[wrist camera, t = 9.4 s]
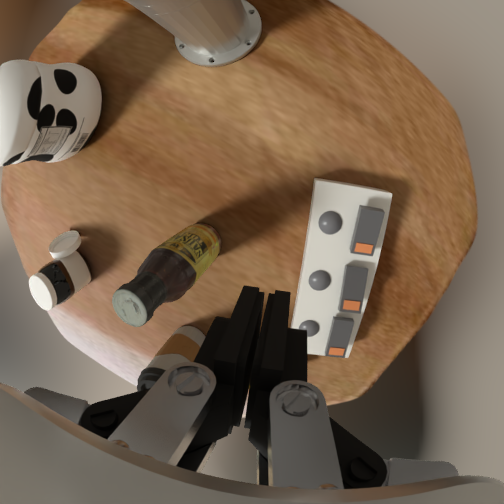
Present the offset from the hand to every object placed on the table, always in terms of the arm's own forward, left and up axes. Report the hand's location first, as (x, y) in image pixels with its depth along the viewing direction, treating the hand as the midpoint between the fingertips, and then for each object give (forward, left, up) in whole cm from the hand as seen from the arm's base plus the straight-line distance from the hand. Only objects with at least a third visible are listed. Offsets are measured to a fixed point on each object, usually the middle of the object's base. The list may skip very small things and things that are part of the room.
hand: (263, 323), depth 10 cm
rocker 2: (+2, +10, -24) cm, 26 cm away
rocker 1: (+18, +10, -24) cm, 32 cm away
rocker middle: (+10, +10, -24) cm, 28 cm away
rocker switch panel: (+10, +8, -29) cm, 32 cm away
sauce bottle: (+8, -12, -29) cm, 33 cm away
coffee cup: (+27, -14, -29) cm, 42 cm away
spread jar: (+15, -39, -29) cm, 51 cm away
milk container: (-13, -38, -29) cm, 50 cm away
